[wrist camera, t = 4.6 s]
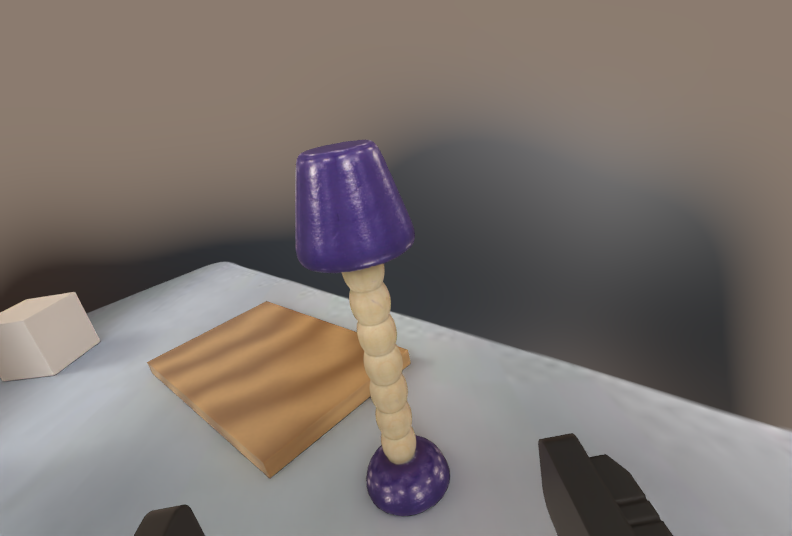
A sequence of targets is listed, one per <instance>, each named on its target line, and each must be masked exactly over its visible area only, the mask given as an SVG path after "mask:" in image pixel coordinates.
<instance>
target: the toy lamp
mask: <svg viewBox="0 0 792 536" xmlns="http://www.w3.org/2000/svg"><path fill="white" fill-rule="evenodd" d="M295 206H296V207H295V212H296V253H297V257H298V259H299V262H300V263H301V264H302V265H303V266H304V267H305V268H307V269H309V270H311V271H316V272H325V273H340V272H342V274H343V278H344V280H345V282H346V284H347V285H348V287H349V288H350V289H351V290H350V294H349V302H350V307H351V310H352V313H353V315H354V316H355V318H356V319H357V320H358V323H357V335H358V339H359V343H360V345H361V347H362V348H363V350H364V367H365V371H366V373H367V375H368V377H369V378H370V387H369V389H370V396H371V399H372V401H373V403H374V405H375V406H376V414H375V415H376V422H377V425H378V427H379V429H380V431H381V432H382V434H381V444H382V445H381V446H380V447H379V448H378V449H377V450H376V452H375V453H374V455H373V457H372V458H371V461H370V463H369V466H368V471H367V478H366V481H367V489H368V493H369V496H370V497H371V499H372V501H373V503H374V504H375V505H376V506H377V507H378V508H379V509H381V510H383V511H385V512H386V513H390V514H393V515H398V516H410V515H414V514H418V513H421V512H423V511H425V510H427V509H429V508H430V507H432V506H434V505H435V504H436V503H437V502H438V501H439V500H440V499H441V498H442V497H443V495H444V494H445V492H446V490H447V488H448V484H449V480H450V474H449V467H448V464H447V462H446V460H445V458H444V456H443V454H442V453H441V451H440V450H439V449H438V447H437V446H436V445H435V444H433V443H432V442H431V441H429V440H428V439H426V438H423V437H420V436H417V435H415V432H414V430H413V428H412V426H411V424H412V412H411V408H410V406H409V404H408V402H407V394H408V389H407V383H406V380H405V378H404V376H403V374H402V368H403V361H402V355H401V352H400V350H399V348H398V346H397V345H396V344H395V343H396V340H397V331H396V326H395V323H394V320H393V318H392V316H391V315H390V314H389V313H390V308H391V299H390V295H389V292H388V289H387V287H386V286H385V284H384V283H383V282H382V281H383V278H384V263H386V262H388V261H390V260H393V259H394V258H397V257H398V256H400V255H401V254H403V253H404V252H405V251H407V249H409V248H410V247H411V246H412V244H413V242H414V238H415V233H414V228H413V225H412V222H411V219H410V217H409V215H408V212H407V210H406V208H405V205H404V203H403V201H402V198H401V196H400V194H399V192H398V190H397V187H396V185H395V183H394V180H393V178H392V176H391V173H390V171H389V169H388V167H387V165H386V162H385V160H384V158H383V156H382V154H381V152H380V150H379V148H378V147H377V145H376V144H375V143H374V142H372V141H370V140H357V141H348V142H342V143H337V144H331V145H326V146H321V147H317V148H314V149H310V150H307V151H305V152H303V153H301V154H300V155H299V156H298V158H297V163H296V205H295Z"/></svg>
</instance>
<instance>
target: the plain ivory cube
mask: <svg viewBox="0 0 792 536" xmlns="http://www.w3.org/2000/svg"><path fill="white" fill-rule="evenodd" d="M99 342H100V339H99V337H98V336H97V334H96V332H95V330H94V328H93V326H92V324H91V322H90V320H89V318H88V316H87V314H86V312H85V311H84V309H83V307H82V305H81V303H80V301H79V299H78V297H77V295H76V293H75V292H72V293H65V294H59V295H53V296H46V297H39V298H33V299H26V300H24V301H23V302H21V303H19V304H17V305H15V306H13V307H11V308H9V309H7V310H5V311H3V312H1V313H0V378H1V379H2V381H11V380H19V379H27V378H36V377H44V376H53V375H56V374H57V373H58V372H60V371H61V370H62V369H64V368H65V367H67V366H68V365H69V364H71V363H72V362H73V361H75V360H76V359H77V358H79V357H80V356H81V355H83V354H84V353H85V352H87V351H88V350H89V349H91V348H92V347H93V346H95V345H96V344H98V343H99Z"/></svg>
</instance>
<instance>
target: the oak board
mask: <svg viewBox="0 0 792 536" xmlns="http://www.w3.org/2000/svg"><path fill="white" fill-rule="evenodd" d="M398 348H399V350H400V352H401V355H402V361H403V368H402V370H403V369H405V368H406V367H407V366H408V365H410V364H411V362H410V357H409V352H408V350H407V349H404V348H401V347H398ZM147 363H148V365H149V367H150V370H151V372H152V373H153V374H154V375H155V376H156V377H157V378H158V379H159V380H160V381H162V382H163V383H164V384H165V385H166V386H167V387H168V388H169V389H171V390H172V391H173V392H174V393H175V394H176V395H177V396H178V397H179V398H181V399H182V400H183V401H184V402H185V403H186V404H187V405H188V406H189V407H191V408H192V409H193V410H194V411H195V412H196V413H197V414H198V415H200V416H201V417H202V418H203V419H204V420H205V421H206V422H207V423H208V424H210V425H211V426H212V427H213V428H214V429H215V430H216V431H217V432H218V433H220V434H221V435H222V436H223V437H224V438H225V439H226V440H227V441H229V442H230V443H231V444H232V445H233V446H234V447H235V448H236V449H237V450H239V451H240V452H241V453H242V454H243V455H244V456H245V457H246V458H247V459H249V460H250V461H251V462H252V463H253V464H254V465H255V466H256V467H257V468H259V469H260V470H261V471H262V472H263V473H264V474H265V475H266V476H268V477H269V478H271V477H272V476H274V475H275V474H276V473H277V472H278V471H280V470H281V469H282V468H283V467H285V466H286V465H287V464H288V463H289V462H291V461H292V460H293V459H294V458H296V457H297V456H298V455H299V454H300V453H302V452H303V451H304V450H305V449H307V448H308V447H309V446H310V445H312V444H313V443H314V442H315V441H316V440H318V439H319V438H320V437H321V436H323V435H324V434H325V433H326V432H327V431H329V430H330V429H331V428H332V427H334V426H335V425H336V424H337V423H338V422H340V421H341V420H342V419H343V418H345V417H346V416H347V415H348V414H349V413H351V412H352V411H353V410H354V409H356V408H357V407H358V406H359V405H361V404H362V403H363V402H364V401H365V400H367V399H368V398H369V397H370V389H369V387H370V378H369V377H368V375H367V373H366V371H365V367H364V350H363V348H362V347H361V345H360V343H359V339H358V335H357V332H354V331H352V330H349V329H346V328H343V327H340V326H337V325H334V324H331V323H328V322H325V321H323V320H320V319H317V318H314V317H311V316H308V315H305V314H302V313H299V312H296V311H294V310H291V309H288V308H285V307H282V306H279V305H276V304H273V303H270V302H267V301H266V302H264V303H262V304H260V305H258V306H256V307H254V308H252V309H251V310H249V311H247V312H245V313H243V314H241V315H239V316H237V317H235V318H233V319H231V320H229V321H227V322H225V323H223V324H221V325H219V326H217V327H215V328H213V329H211V330H209V331H207V332H205V333H203V334H202V335H200V336H198V337H196V338H194V339H192V340H190V341H188V342H186V343H184V344H182V345H180V346H178V347H176V348H174V349H172V350H170V351H168V352H166V353H164V354H162V355H160V356H158V357H156V358H154V359H153V360H151V361H149V362H147Z"/></svg>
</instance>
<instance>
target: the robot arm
mask: <svg viewBox="0 0 792 536" xmlns="http://www.w3.org/2000/svg"><path fill="white" fill-rule="evenodd" d="M538 445H539V456H540V467H541V477H542V487H543V494H544V498H545V502H546V506H547V509H548V512H549V515H550V518H551V520H552V523H553V525H554V527H555V530H556V532H557V534H558V536H673V535H672V534H671V532H670V531H669V529H668V528H667V526H666V525H665V523H664V522H663V521H661V520H660V517H659V515H658V513H657V512H656V510H655V509H654V507H653V506H652V504H651V503H650V502H649V501H647V499H646V496H645V494H644V493H643V491H642V490H641V488H640V487H639V486H638V484H637V483H636V481H635V480H634V478H633V477H632V475H631V474H630V473H629V472H628V471H627V470H626V469H624V468H623V467H622V466H621V465H619V464H618V463H617V462H615V461H614V460H613V459H611V458H610V457H609V456H608V455H606V454H605V455H599V456H594V457H589V456H588V455H587V453H586V451H585V450H584V448H583V446H582V445H581V443H580V442H579V440H578V438H577V437H576V436H575V435H574V434H573V433H571V434H565V435H560V436H555V437H549V438H544V439H539V442H538ZM134 536H205V535H204V533H203V531H202V529H201V527H200V525H199V523H198V521H197V519H196V517H195V515H194V513H193V512H192V510H191V508H190V507H189V506H188V505H180V506H174V507H169V508H164V509H158V510H153V511H151V512H149V513H148V514H147V515H146V516H145V517H144V519H143V520H142V522H141V524H140V525H139V527H138V529H137V531H136V533H135V534H134Z"/></svg>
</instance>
